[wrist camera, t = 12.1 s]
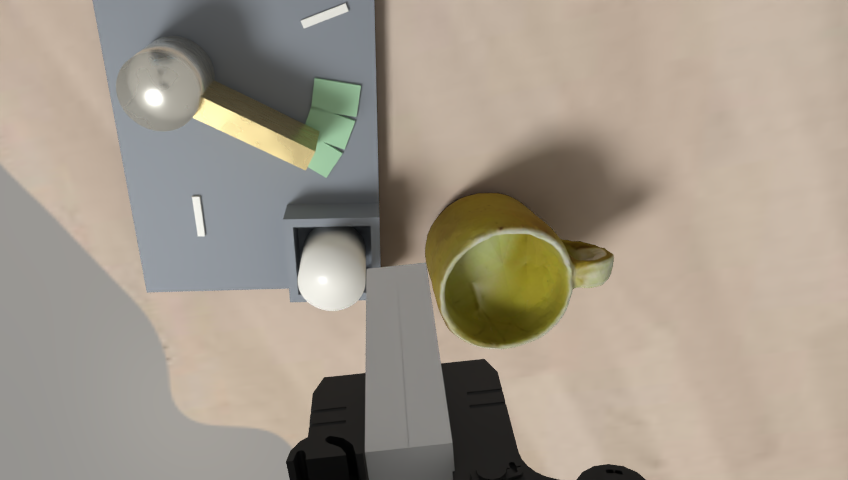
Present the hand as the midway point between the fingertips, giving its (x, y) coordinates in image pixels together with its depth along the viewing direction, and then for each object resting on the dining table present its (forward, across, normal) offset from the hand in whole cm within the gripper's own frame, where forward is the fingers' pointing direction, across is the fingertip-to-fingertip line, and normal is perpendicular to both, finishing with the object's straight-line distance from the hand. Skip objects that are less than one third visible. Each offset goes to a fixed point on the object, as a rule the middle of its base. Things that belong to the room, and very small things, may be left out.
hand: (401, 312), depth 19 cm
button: (+30, -5, -13) cm, 33 cm away
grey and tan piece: (+31, -10, -2) cm, 33 cm away
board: (+32, -9, -4) cm, 34 cm away
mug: (+33, +8, -15) cm, 37 cm away
